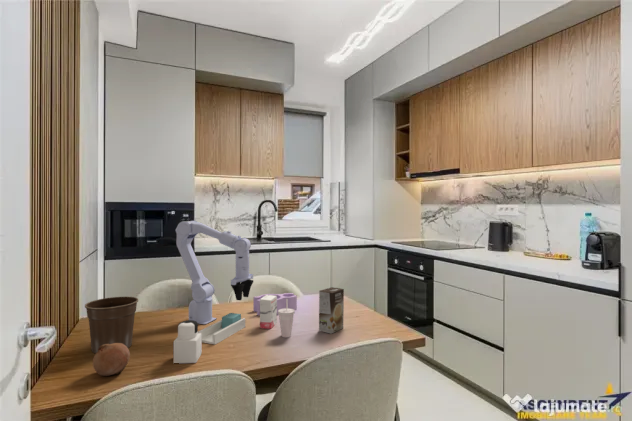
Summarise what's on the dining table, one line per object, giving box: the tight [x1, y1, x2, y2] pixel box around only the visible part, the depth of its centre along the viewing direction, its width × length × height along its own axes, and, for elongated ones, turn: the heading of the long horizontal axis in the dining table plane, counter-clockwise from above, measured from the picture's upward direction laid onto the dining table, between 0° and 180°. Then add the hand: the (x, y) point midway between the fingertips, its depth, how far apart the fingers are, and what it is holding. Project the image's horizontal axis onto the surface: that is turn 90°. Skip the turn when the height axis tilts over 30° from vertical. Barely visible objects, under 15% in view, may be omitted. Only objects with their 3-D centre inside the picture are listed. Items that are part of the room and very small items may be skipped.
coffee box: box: [318, 287, 345, 335], centre depth 141 cm, size 9×6×16 cm
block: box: [221, 312, 242, 328], centre depth 141 cm, size 6×5×4 cm
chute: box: [198, 317, 246, 345], centre depth 136 cm, size 20×8×4 cm, turn 160°
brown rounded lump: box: [92, 343, 131, 377], centre depth 103 cm, size 10×9×10 cm
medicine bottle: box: [172, 319, 203, 364], centre depth 113 cm, size 7×7×12 cm
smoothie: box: [277, 299, 296, 338], centre depth 134 cm, size 6×6×14 cm
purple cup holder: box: [252, 292, 298, 316], centre depth 167 cm, size 20×12×7 cm, turn 114°
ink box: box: [259, 295, 278, 330], centre depth 145 cm, size 9×5×12 cm, turn 168°
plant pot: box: [84, 296, 139, 354], centre depth 122 cm, size 16×16×16 cm
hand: (242, 298), depth 149 cm, fingers open, 5 cm apart
